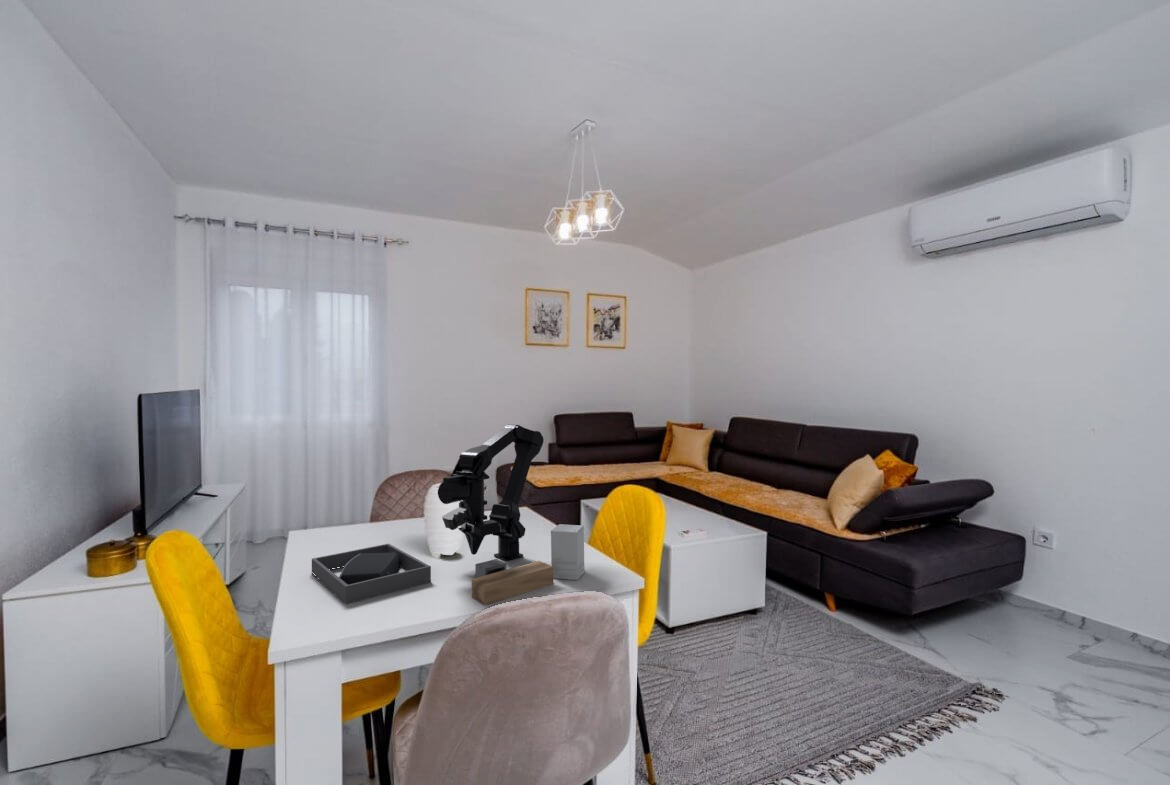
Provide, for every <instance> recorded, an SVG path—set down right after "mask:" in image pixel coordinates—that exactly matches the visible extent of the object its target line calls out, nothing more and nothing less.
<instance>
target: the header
mask: <svg viewBox="0 0 1170 785" xmlns="http://www.w3.org/2000/svg"><path fill="white" fill-rule="evenodd" d="M551 585H554V578H553V566H552V564H548V563H546V562H543V561H540V560H537V561H534V562H531V563H527V564H523V565H519V566H515V567H512V568H506V570H503V571H500V572H496V573H492V574H489V575H485V576H481V577H478V578H476V577H474V578H471V598H472V599H474V600H475V601H476V602H479V603H481V604H482V605H484V606H486V605H489V604H492V603H493V604H494V603H496V602H498V601H502V600H506V599H509V598H512V597H515V596H518V595H522V594H524V593H527V592H531V591H534V590H539V589H541V588H544V587H547V586H551Z"/></svg>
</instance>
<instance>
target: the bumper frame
mask: <svg viewBox="0 0 1170 785" xmlns="http://www.w3.org/2000/svg"><path fill="white" fill-rule="evenodd" d="M391 552H395V553H396V554H397V556H398V558H399V562H400V566H399V567H401V568H403V569H405V571H401V572H396V573H395V574H392V575H388V576H383V577H379V578H375V579H371V580H366V581H362V582H358V583H354V584H349V585H348V584H346V583H345V582H344V581H343V580H341V579H340V578H339V575H337V574H335V573H334V572H332V571H333V570H329V569H332V568H337V567H342V566H345V565H346V564H347V563H348V562H349V561H350V560H351V559H352V558H354V557H355V556H357V555H358V554H369V553H391ZM312 572H313V573H314V574H315V575H316V576H317V577H318V578H319V579H320V580H321V581H322V582H323V583H324V584H325V585H326V586H327V587H328V589H329V591H331V592H332V593H333V594H334V593H335V594H336V595H337V596H338V598H339V600H341V602H343V603H344V604H345V605H347V604H349V603H350V604H351V603H354V602H358V601H362V600H366V599H369V598H374V597H378V596H381V595H385V594H390V593H394V592H397V591H402V590H406V589H409V588H413V587H416V586H420V585H424V584H428V583H431V581H432V573H431V572H432V567H431V565H429V564H427V563H425V562H424V561H422V560H419V559H418V558H416V557H414V556H413V555H411V554H409V553H407V552H405V551H403V550H402V549H399V548H398V547H396V546H394V545H392V544H390V543H384V544H379V545H376V546H371V547H370V546H369V547H363V548H359V549H354V550H350V551H349V550H348V551H344V552H340V553H334V554H329V555H324V556H320V557H314V558H311V573H312ZM319 579H318V580H319ZM320 580H319V581H320ZM321 581H320V582H321ZM322 582H321V583H322ZM323 583H322V584H323ZM324 584H323V585H324ZM325 585H324V586H325ZM326 586H325V587H326ZM335 594H334V595H335ZM336 595H335V596H336ZM337 596H336V597H337Z"/></svg>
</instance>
